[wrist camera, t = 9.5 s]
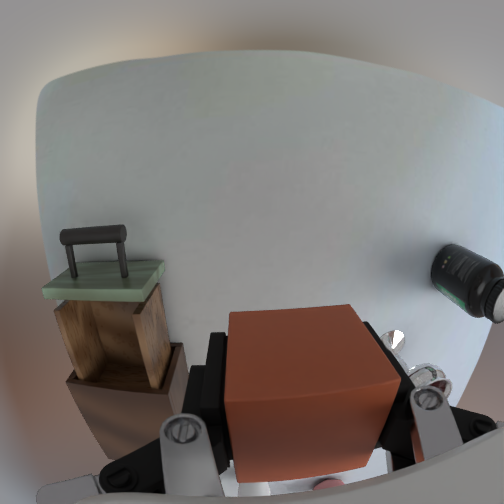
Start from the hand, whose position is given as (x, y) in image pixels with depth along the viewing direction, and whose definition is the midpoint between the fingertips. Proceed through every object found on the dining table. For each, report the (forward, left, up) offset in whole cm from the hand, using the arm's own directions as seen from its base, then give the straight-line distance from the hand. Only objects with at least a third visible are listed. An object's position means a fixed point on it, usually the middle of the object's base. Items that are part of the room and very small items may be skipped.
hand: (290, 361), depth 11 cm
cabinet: (+25, -9, -21) cm, 34 cm away
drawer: (+12, -13, -20) cm, 27 cm away
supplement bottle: (-3, +26, -22) cm, 34 cm away
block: (0, 0, 0) cm, 0 cm away
